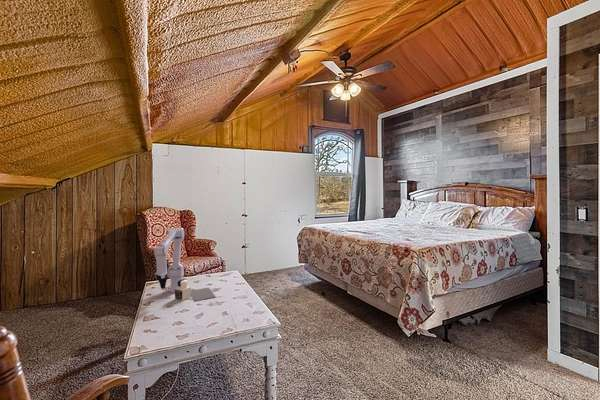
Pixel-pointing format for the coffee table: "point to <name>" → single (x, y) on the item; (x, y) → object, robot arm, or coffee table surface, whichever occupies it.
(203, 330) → the coffee table surface
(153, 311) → the coffee table surface
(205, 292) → the grey flat slab
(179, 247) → the robot arm
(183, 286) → the medicine box
